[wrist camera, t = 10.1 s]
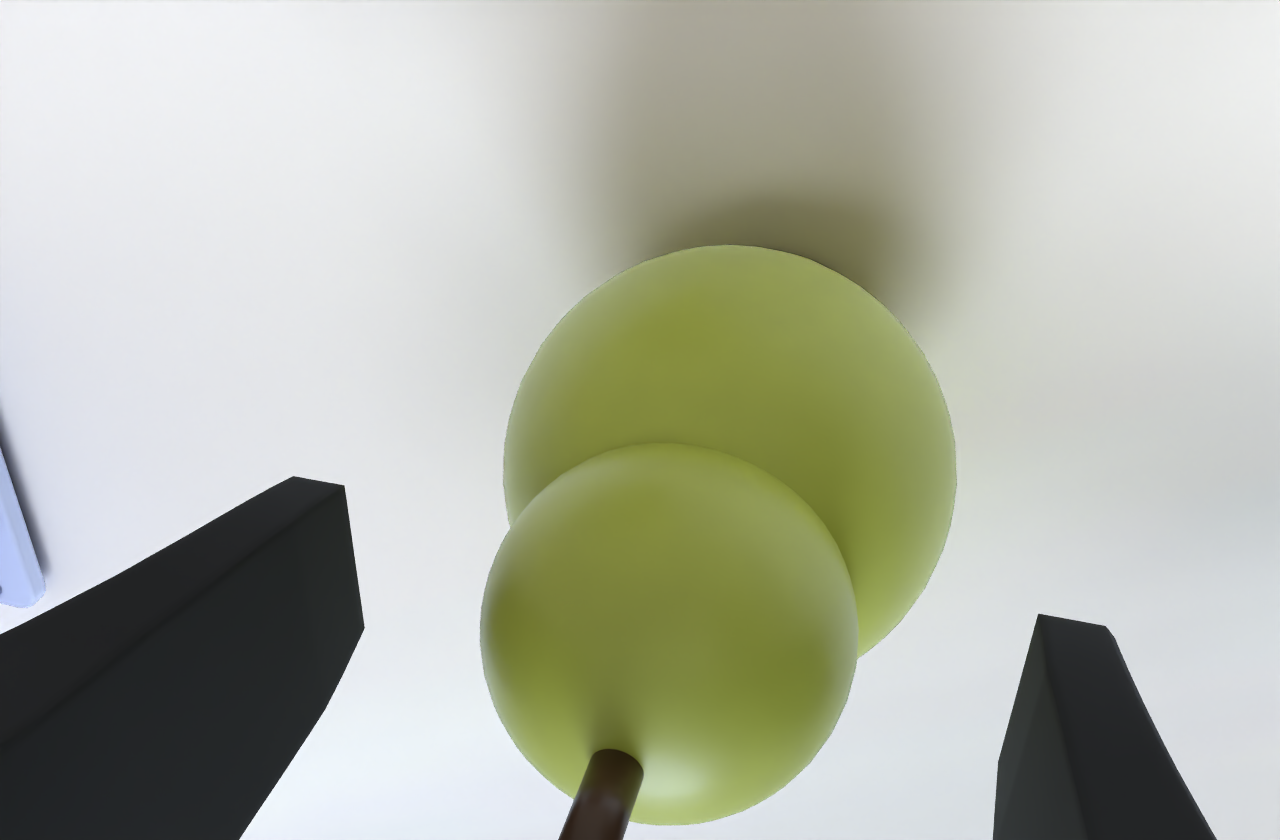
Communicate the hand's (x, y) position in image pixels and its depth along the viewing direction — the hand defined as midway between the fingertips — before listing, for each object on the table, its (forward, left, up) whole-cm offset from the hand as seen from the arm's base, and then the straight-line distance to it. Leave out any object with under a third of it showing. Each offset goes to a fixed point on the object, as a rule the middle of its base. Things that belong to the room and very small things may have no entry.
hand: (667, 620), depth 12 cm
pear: (0, 0, -6) cm, 6 cm away
